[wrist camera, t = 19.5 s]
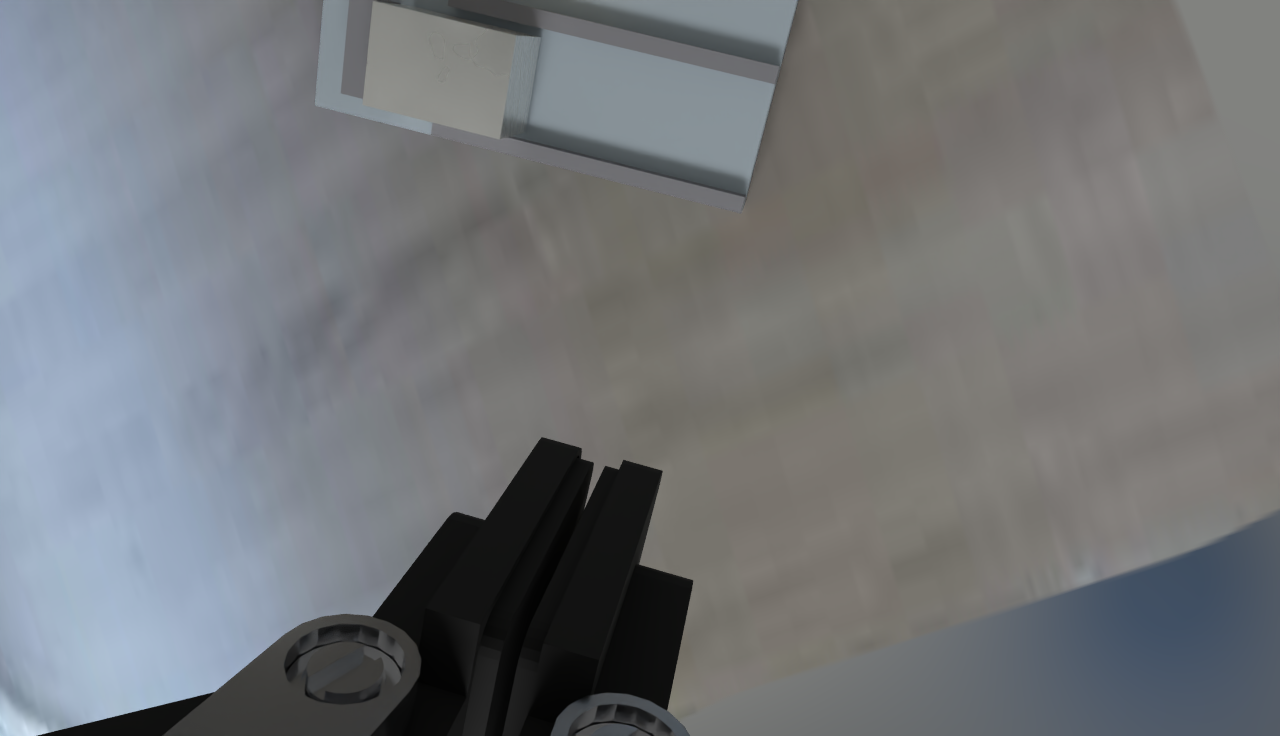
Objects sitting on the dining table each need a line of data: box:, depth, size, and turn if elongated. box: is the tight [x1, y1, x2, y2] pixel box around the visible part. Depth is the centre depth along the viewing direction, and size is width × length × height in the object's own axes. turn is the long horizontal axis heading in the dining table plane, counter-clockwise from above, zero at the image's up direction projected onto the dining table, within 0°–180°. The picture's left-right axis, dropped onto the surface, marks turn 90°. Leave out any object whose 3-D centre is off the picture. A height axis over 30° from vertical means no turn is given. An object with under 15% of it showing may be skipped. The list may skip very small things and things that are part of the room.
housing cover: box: [362, 1, 541, 139], centre depth 31 cm, size 5×3×3 cm
